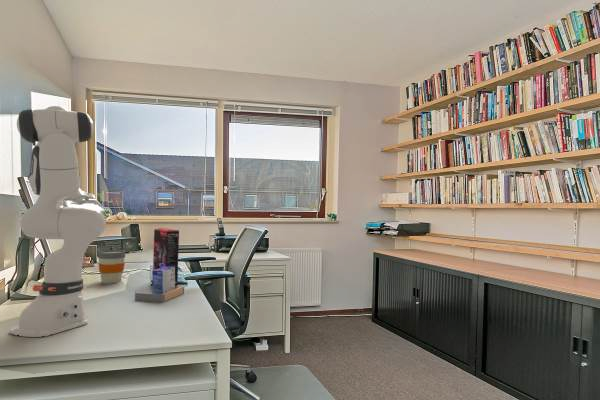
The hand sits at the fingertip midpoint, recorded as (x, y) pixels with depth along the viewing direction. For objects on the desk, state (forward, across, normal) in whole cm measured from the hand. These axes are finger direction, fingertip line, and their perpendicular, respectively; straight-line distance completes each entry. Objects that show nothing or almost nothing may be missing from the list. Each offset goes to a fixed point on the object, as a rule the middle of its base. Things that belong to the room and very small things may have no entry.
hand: (94, 223), depth 173 cm
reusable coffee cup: (+12, +30, +33) cm, 46 cm away
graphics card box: (+33, +32, +12) cm, 47 cm away
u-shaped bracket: (+40, +10, +4) cm, 42 cm away
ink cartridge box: (+42, +10, +3) cm, 43 cm away
